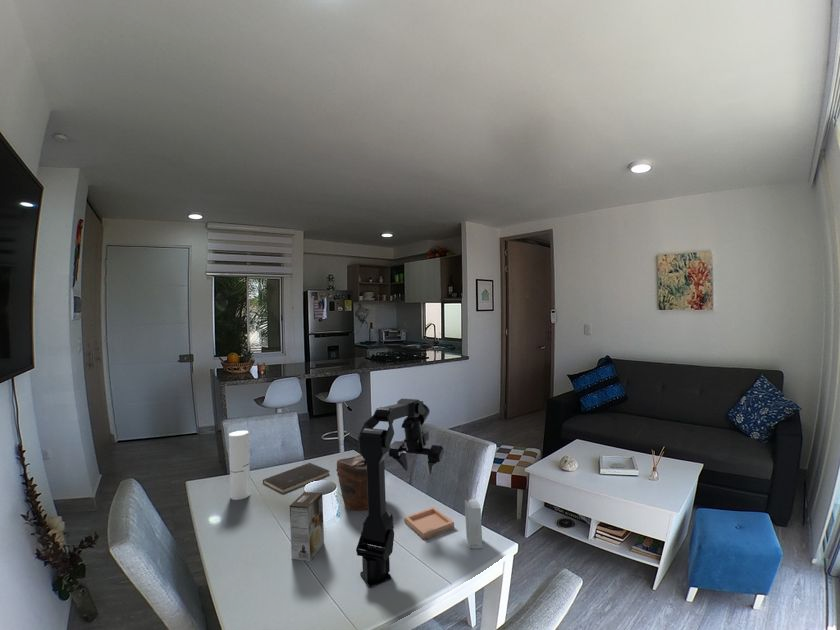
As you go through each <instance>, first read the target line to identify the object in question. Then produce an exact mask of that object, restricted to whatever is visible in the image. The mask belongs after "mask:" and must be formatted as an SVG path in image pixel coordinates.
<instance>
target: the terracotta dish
mask: <svg viewBox="0 0 840 630" xmlns="http://www.w3.org/2000/svg"><path fill="white" fill-rule="evenodd" d="M404 524H405V526H408V527H409V528H410V529H411V530H412V531H413V532H414V533H415V534H417V535H418V536H419V537H420V538H421V539H422V540H427V539H430V538H433V537H434V536H437V535H440V534H443V533H445V532H447V531H450V530H453V529H455V521H454V520H452V519H451V518H449V517H448V516H447V515H445V513H442V512H441V511H440V510H439V509H437V508H436V507H434V506H433V507H430V508H427V509H424V510H421V511H417V512H414V513H413V514H409V515H407V516H404Z"/></svg>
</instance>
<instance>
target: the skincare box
mask: <svg viewBox="0 0 840 630" xmlns="http://www.w3.org/2000/svg"><path fill="white" fill-rule="evenodd" d="M481 510H482V508H481V506H480V504H479V501H478V499H464V515H465V516H464V517H465V534H466V541H467V545H468V548H469V549H483V531H482V529H483V528H482V526H483V525H482V511H481Z"/></svg>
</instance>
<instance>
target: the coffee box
mask: <svg viewBox="0 0 840 630" xmlns="http://www.w3.org/2000/svg"><path fill="white" fill-rule="evenodd" d="M323 504H324V503H323V492H315V491H314V492H311V491H309V492H308V491H304V492H303V493H301V495H300V496H298V497H297V498H296V499H295V500H293V502H292V503H291V504H290V505H289V525H290V528H289V529H290V551H291V560H296V561H297V560H300V561H307V562H310V561H312V560H313V558H314V557H315V555H316V554H317V553H318V552H319V550H321V548H322V547H323V545H324V544H325V536H324V535H325V531H324V507H323V506H324V505H323Z"/></svg>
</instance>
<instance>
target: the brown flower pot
mask: <svg viewBox="0 0 840 630" xmlns="http://www.w3.org/2000/svg"><path fill="white" fill-rule="evenodd" d="M384 469H385V470H386V466H385V463H384ZM335 471H336V472H337V473H336V475H337V478H338V482H339V483H338V484H339V487H340V491H341V492H340V493H341V496H342V497H341V498H342V500H343V505H344V506H345V508H346V509H349V510H352V511H364V510H368V492H367V465H366V461H365V460H364V458H363V457H362V455H361V454H360V455H356V456H351V457H347V458H341V459H338V460H337V461H336V470H335Z"/></svg>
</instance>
